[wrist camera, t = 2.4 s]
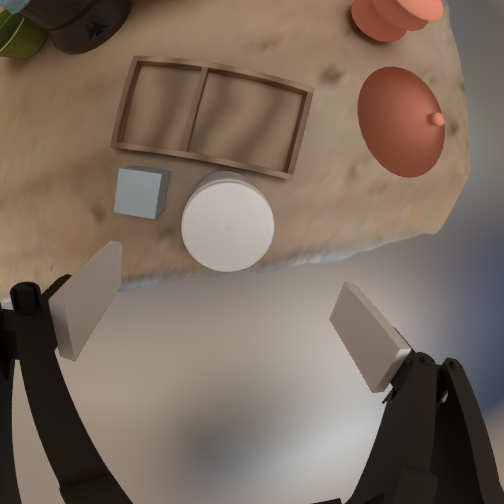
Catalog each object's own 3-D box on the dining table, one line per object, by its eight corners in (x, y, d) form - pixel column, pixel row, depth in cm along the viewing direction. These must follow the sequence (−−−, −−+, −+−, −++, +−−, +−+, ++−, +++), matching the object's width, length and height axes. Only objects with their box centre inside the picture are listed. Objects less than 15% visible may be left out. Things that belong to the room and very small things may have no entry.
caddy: (118, 147, 35) (110, 147, 32) (140, 62, 30) (134, 55, 27) (286, 178, 39) (291, 180, 36) (307, 92, 35) (314, 88, 32)
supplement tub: (185, 181, 38) (164, 197, 24) (247, 161, 38) (260, 166, 24) (206, 240, 42) (198, 285, 28) (265, 222, 42) (286, 258, 28)
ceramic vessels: (452, 164, 41) (524, 181, 24) (375, 191, 42) (453, 220, 24) (399, 6, 28) (457, -25, 11) (307, 4, 29) (351, -55, 11)
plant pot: (21, 80, 27) (-16, 72, 16) (9, 49, 22) (-23, 39, 12) (65, 34, 25) (33, 15, 15) (50, 7, 21) (22, -12, 11)
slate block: (128, 203, 38) (113, 212, 33) (133, 165, 36) (119, 168, 31) (163, 210, 39) (154, 219, 34) (170, 171, 37) (161, 174, 32)
